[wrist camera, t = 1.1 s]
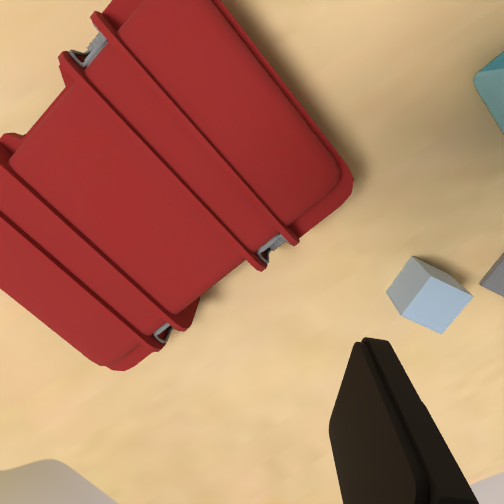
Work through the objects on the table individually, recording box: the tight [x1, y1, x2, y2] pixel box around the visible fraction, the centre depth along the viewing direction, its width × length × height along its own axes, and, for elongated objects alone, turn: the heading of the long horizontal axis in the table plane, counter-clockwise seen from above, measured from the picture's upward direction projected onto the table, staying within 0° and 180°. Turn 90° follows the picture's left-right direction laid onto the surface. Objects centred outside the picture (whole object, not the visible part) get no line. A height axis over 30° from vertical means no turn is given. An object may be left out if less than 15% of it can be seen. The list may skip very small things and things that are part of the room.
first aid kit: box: [0, 0, 354, 371], centre depth 34 cm, size 32×23×9 cm
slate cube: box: [386, 256, 474, 334], centre depth 38 cm, size 5×5×5 cm
